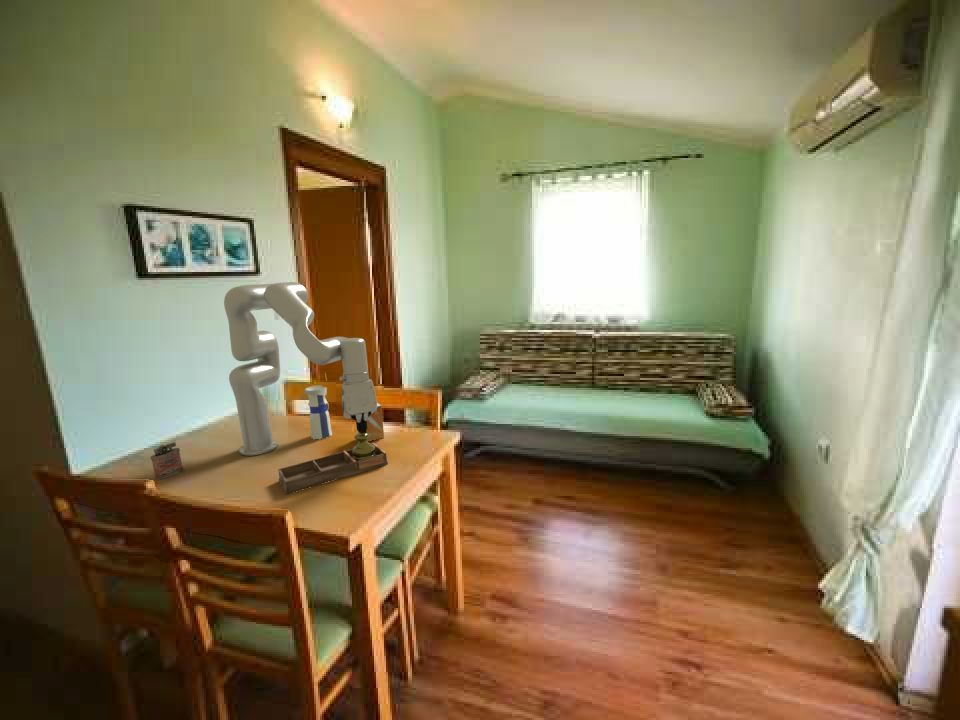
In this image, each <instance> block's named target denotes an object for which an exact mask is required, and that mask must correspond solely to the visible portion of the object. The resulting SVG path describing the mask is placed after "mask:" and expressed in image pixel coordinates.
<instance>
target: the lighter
mask: <svg viewBox="0 0 960 720" xmlns="http://www.w3.org/2000/svg"><path fill="white" fill-rule="evenodd" d="M176 443H177V442H170V443H167V444H165V445H164V444H160V445H159V446H158V447H156V448H153V452H154V454H153V455H151V456H150V460H151V462H152V467H153V472H154V480H162V479H166V478H168V477H172V476H174V475H176V474H178V473H180V472H183V471H184V466H183V463H182V458H181V453H180V451H181V450H180V448H179V447H177V444H176Z"/></svg>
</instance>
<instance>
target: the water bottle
mask: <svg viewBox="0 0 960 720" xmlns="http://www.w3.org/2000/svg"><path fill="white" fill-rule="evenodd" d="M324 377H325V381H326V382H327V381H328V378H327V373H324ZM327 390H328V388H327V387H324V386H323V385H321V384H320V385H311V386H308V387H306V388H305V389H304V395H307V396H308V404H307V406H308V407H309V426H310V438H311V439H312V438H314V439H313V440H315V439H319V440H322V439H321V438H325V439H327V438H326V437H328V438H330V437H331V436H332V435H333V432H332V425H331V418H330V413H329V409H330V405H329V403H328V401H327V399H326V396H327ZM330 435H331V436H330ZM329 436H330V437H329Z"/></svg>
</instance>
